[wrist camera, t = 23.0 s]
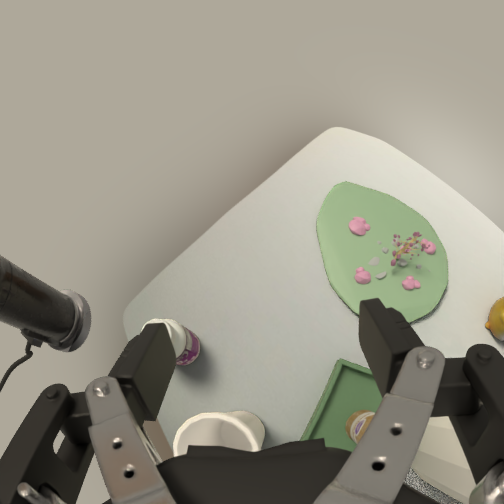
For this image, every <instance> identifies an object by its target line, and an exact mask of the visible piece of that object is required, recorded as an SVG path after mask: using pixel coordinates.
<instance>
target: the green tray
mask: <svg viewBox="0 0 504 504" xmlns="http://www.w3.org/2000/svg"><path fill="white" fill-rule="evenodd" d="M381 401H382V396H381V394H380V391H379V389H378V386H377V384H376V382H375V379H374V377H373V374H372V372H371V370H370V369H368V368H365V367H362V366H360V365H357V364H354V363H351V362H349V361H346V360H343V359H339V360H337V362H336V364H335V367H334V369H333V371H332V374H331V376H330V378H329V381H328V383H327V385H326V387H325V390H324V392H323V394H322V396H321V398H320V400H319V403H318V405H317V407H316V409H315V411H314V413H313V415H312V417H311V419H310V421H309V423H308V425H307V427H306V429H305V431H304V433H303V435H302V437H301V439H300V441H304V440H312V439H319V438H324V440H325V447H335V448H341V449H345V450H348V451H351V452H353V450H354V449H355V447H356V446H357V444H356V443H355V442H354V441H353V440H352V439H350V438H349V437H348V435H347V434H346V429H345V426H346V422H347V420H348V418H349V417H350V416H351V415H352V414H353V413H355V412H357V411H360V410H369V411H372V412H374V413H376V411H377V409H378V407H379V405H380V403H381Z"/></svg>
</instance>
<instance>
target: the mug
mask: <svg viewBox="0 0 504 504" xmlns="http://www.w3.org/2000/svg"><path fill="white" fill-rule="evenodd" d="M485 326H486V328H487V329H490V330H491V332H492V334H493V335H494V336H495V337H496V338H497V339H499V340H502V341H504V297H502V298H500V299H499V300H497V301H496V302H495V304H494V305H493V306H492V308H491V310H490V314H489V319H488V322H487V323H486V324H485Z"/></svg>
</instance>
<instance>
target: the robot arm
mask: <svg viewBox="0 0 504 504" xmlns="http://www.w3.org/2000/svg"><path fill="white" fill-rule="evenodd" d="M0 321H1V322H4V323H6V324H8V325H11V326H13V327H16V328H19V329H20V330H21V333H22V335H23V336H24V337H25V338H26V339H27V340H28V342H27V345H26V349H25V350H26V354H27V355H25V356H24V357H22V358H21V359H19V360H17V361H16V362H15V363H14V364H12V365H11V366H10V368H9V369H8V370H7V372H6V373H5V375H4V377H3V379H2V381H1V383H0V391H1V390H2V388H3V386H4V384H5V382H6V380H7V378H8V377H9V375H10V373H11V372H12V371H13V370H14V369H15V368H16V367H17V366H18V365H19V364H21V363H23V362H25V361H26V360H28V359H29V358H31V356H32V355H33V352H32V351H30V348H31V345H34V346H37V347H41V345H42V343H43V342H45V343H49V344H52V345H55V346H58V347H61V346H62V344H63V343H64V342H66V341H68V340H69V339H70V338H71V337H72V336H73V334H74V333H75V331H76V328H77V325H78V321H79V311H78V307H77V304H76V302H75V301H74V299H73V298H71V297H70V296H68V295H66V294H64V293H61V292H60V291H58V290H56V289H54V288H53V287H51V286H49V285H47V284H46V283H44V282H42V281H41V280H39V279H37V278H36V277H34V276H32V275H31V274H29V273H27V272H26V271H24V270H23V269H21V268H19V267H18V266H16V265H15V264H13V263H12V262H10V261H8V260H7V259H5V258H4V257H2V256H1V255H0ZM359 342H360V346H361V348H362V351H363V353H364V355H365V358H366V360H367V362H368V365H369V367H370V370H371V372H372V374H373V377H374V379H375V382H376V384H377V386H378V389H379V391H380V394H381V396H382V401H381V403H380V405H379V407H378V409H377V411H376V413H375V414H374V416H373V418H372V420H371V422H370V423H369V425H368V427H367V429H366V430H365V432H364V434H363V436H362V437H361V439H360V441H359V442H358V444H357V446H356V447H355V449H354V450H353V452H351V451H348V450H345V449H341V448H335V447H325V440H324V438H319V439H312V440H304V441H295V442H289V443H285V444H282V445H278V446H275V447H271V448H268V449H264V450H260V451H256V452H251V451H245V450H239V449H234V448H228V447H224V446H201V445H188V449H187V453H186V454H184V455H179V456H176V457H173V458H170V459H168V460H166V461H162V460H161V458H160V456H159V455H158V453H157V451H156V449H155V447H154V446H153V444H152V442H151V440H150V438H149V437H148V434H147V433H146V431H145V429H144V427H143V423H144V420H147V421H156V418H157V415H158V413H159V410H160V407H161V404H162V402H163V399H164V396H165V393H166V391H167V388H168V385H169V382H170V380H171V377H172V374H173V372H174V369H175V366H176V353H175V350H174V347H173V344H172V341H171V338H170V335H169V332H168V329H167V326H166V325H165V323H148V324H146V325H145V327H144V328H143V330H142V332H141V333H140V335H137V336H135V337H134V338H133V339H132V340H131V341H129V342H128V344H127V346H126V347H125V349H124V351H123V352H122V353H121V355H120V357H119V358H118V360H117V361H116V363H115V365H114V366H113V368H112V370H111V371H110V373H109V375H108V376H105V377H100V378H97V379H95V380H94V381H92V382H91V383H90V384H89V385H88V386H87V388H86V390H85V392H79V393H72V394H71V393H70V392H69V390H68V388H67V387H66V386H65V385H63V384H54V385H51V386H49V387H47V388H46V389H45V390H44V391H43V392H42V393H41V394H40V396H39V397H38V399H37V400H36V402H35V403H34V405H33V406H32V408H31V409H30V411H29V413H28V414H27V416H26V417H25V419H24V420H23V422H22V424H21V425H20V427H19V429H18V430H17V432H16V433H15V435H14V437H13V438H12V440H11V442H10V444H9V445H8V447H7V449H6V451H5V452H4V454H3V456H2V457H1V459H0V504H76V501H77V498H78V495H79V493H80V490H81V487H82V484H83V481H84V479H85V476H86V473H87V471H88V468H89V465H90V463H91V460H92V458H93V455H94V453H95V455H96V458H97V461H98V464H99V467H100V470H101V473H102V476H103V479H104V482H105V485H106V487H107V490H108V492H109V495H110V499H109V500H107V501H106V502H104V503H103V504H441V503H439V502H437V501H435V500H433V499H432V498H430V497H428V496H426V495H424V494H423V493H421V492H419V491H417V490H415V489H414V488H412V487H410V486H409V485H407V484H405V483H404V480H405V478H406V476H407V474H408V472H409V469H410V467H411V465H412V463H413V460H414V458H415V456H416V453H417V451H418V448H419V446H420V443H421V441H422V438H423V436H424V433H425V430H426V427H427V425H428V422H429V419H430V417H445V416H448V417H449V419H450V421H451V424H452V426H453V428H454V430H455V433H456V435H457V437H458V440H459V442H460V445H461V447H462V449H463V452H464V454H465V457H466V459H467V462H468V465H469V467H470V470H471V472H472V475H473V478H474V481H475V483H476V486H475V487H474V489H473V490H472V492H471V494H470V497H469V504H504V358H503V356H502V355H501V354H500V353H499V351H498V350H497V349H496V348H494V347H492V346H490V345H487V344H476V345H473V346H472V347H470V348H469V349H468V351H467V353H466V357H465V358H445V357H444V355H443V354H442V353H441V352H440V351H439V350H437V349H435V348H433V347H427V346H425V345H424V344H423V342H422V341H421V339H420V338H419V337H418V335H417V334H416V332H415V331H414V330H413V328H412V327H411V326H410V324H409V323H408V321H406V319H405V317H404V316H403V315H402V313H401V312H399V311H397V310H396V309H394V308H392V307H390V308H386V307H385V306H384V305H383V303H382V302H381V300H380V299H379V298H373V299H367V300H361V301H360V305H359ZM59 430H61V431H62V433H63V434H64V435H65V438H64V440H63V442H62V444H61V446H60V448H59V450H58V452H57V454H55V452H54V449H53V442H54V440H55V438H56V436H57V434H58V432H59Z"/></svg>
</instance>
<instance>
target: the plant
mask: <svg viewBox="0 0 504 504" xmlns="http://www.w3.org/2000/svg"><path fill="white" fill-rule="evenodd" d="M317 235H318V240H319V244H320V249H321V253H322V257H323V262H324V266H325V270H326V273H327V276H328V279H329V282H330V285H331V286H332V288H333V289H334V290H335V292H336V293H337V294H338V296H339V297H340V298H341V299H342V300H343V301H344V302H345V303H346V304H347V305H348V306H349V307H350V309H351V310H352V311H353V312H355V313H356V314H358V315H359V305H360V301H361V300H367V299H373V298H379V299H380V300H381V302H382V303H383V305H384V306H385V307H386V308H390V307H392V308H394V309H396V310H397V311H399V312H401V313H402V315H403V316H404V317H405V319H406V321H408V323H410V322H412V321H414V320H416V319H418V318H420V317H422V316H424V315H426V314H428V313H429V312H430V311H432V310H433V308H434V307H435V306H436V305H437V303H438V302H439V300H440V298H441V296H442V294H443V292H444V290H445V288H446V286H447V284H448V261H447V255H446V251H445V249H444V247H443V245H442V243H441V241H440V239H439V238H438V236H437V234H436V233H435V231H434V229H433V228H432V226H431V225H430V224H429V222H428V221H427V220H426V219H425V218H424V217H423V216H421V215H420V214H419V213H418V212H416V211H415V210H413V209H412V208H410V207H409V206H407V205H406V204H404V203H402V202H401V201H399V200H398V199H396V198H394V197H392V196H390V195H388V194H385V193H382V192H379V191H376V190H373V189H370V188H366V187H363V186H360V185H357V184H353V183H350V182H347V181H346V182H342V183H339V184H337V185H335V186H334V187H333V188H332V190H331V191H330V192H329V194H328V195H327V197H326V199H325V200H324V203H323V205H322V208H321V210H320V212H319V215H318V218H317Z"/></svg>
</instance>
